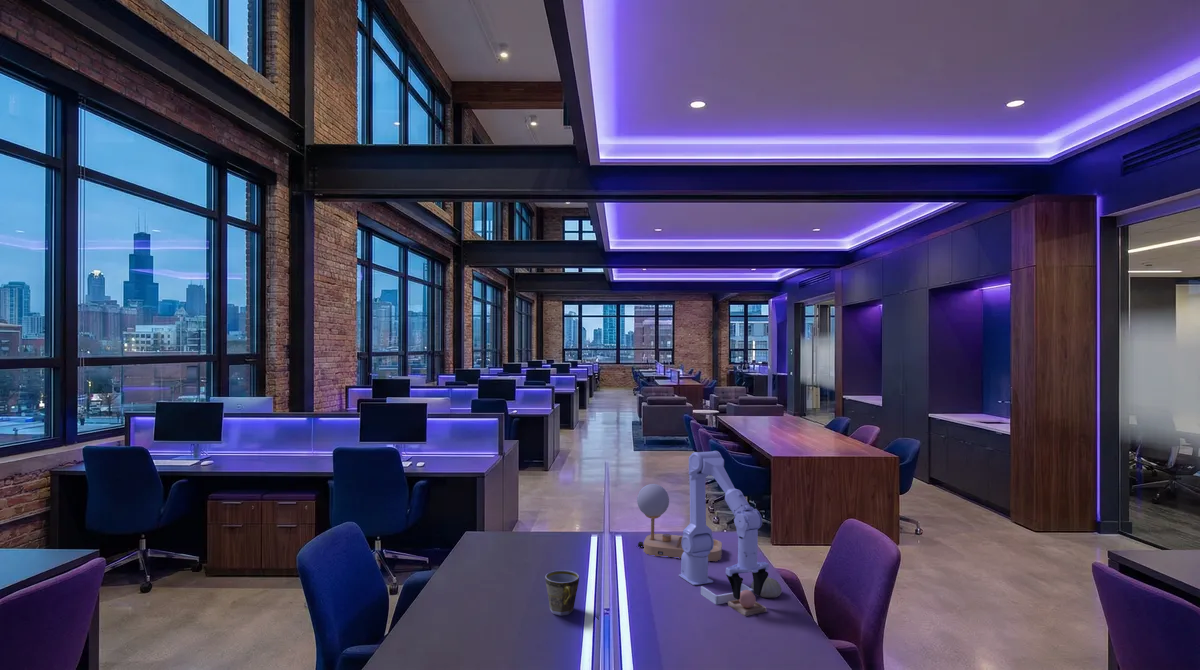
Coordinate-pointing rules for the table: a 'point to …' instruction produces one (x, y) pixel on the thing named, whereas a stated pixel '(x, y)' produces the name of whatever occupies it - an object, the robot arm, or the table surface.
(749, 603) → the ball
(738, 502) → the robot arm
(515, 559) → the table surface
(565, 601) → the ceramic cup
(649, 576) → the table surface
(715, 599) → the white u-shaped arch
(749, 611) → the tray
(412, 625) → the table surface
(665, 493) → the lamp
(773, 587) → the sea urchin shell
